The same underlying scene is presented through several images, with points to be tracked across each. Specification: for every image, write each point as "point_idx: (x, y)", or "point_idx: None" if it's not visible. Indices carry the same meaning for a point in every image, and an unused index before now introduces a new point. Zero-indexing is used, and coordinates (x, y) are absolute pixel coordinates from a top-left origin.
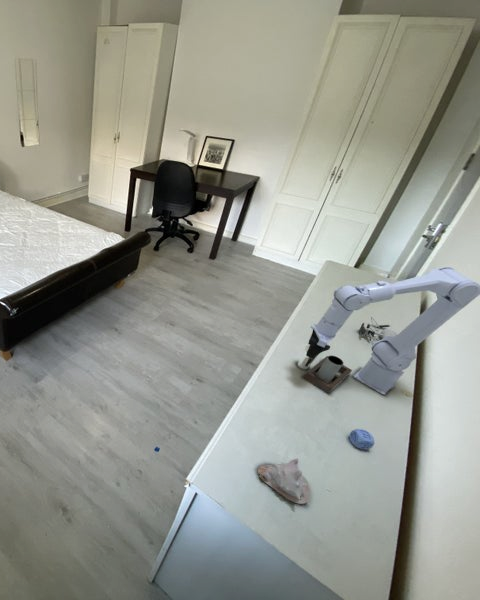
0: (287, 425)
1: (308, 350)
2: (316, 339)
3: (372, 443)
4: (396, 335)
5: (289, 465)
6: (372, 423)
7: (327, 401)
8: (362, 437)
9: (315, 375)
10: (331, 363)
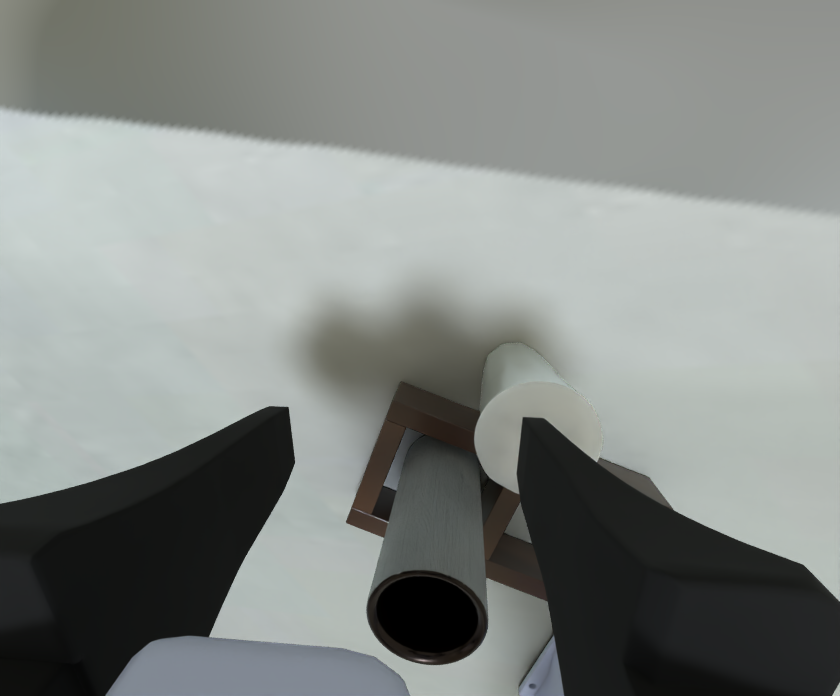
0: (9, 338)
1: (202, 439)
2: (43, 643)
3: None
4: None
5: None
6: (299, 626)
7: (300, 487)
8: None
9: (397, 445)
10: (373, 584)
